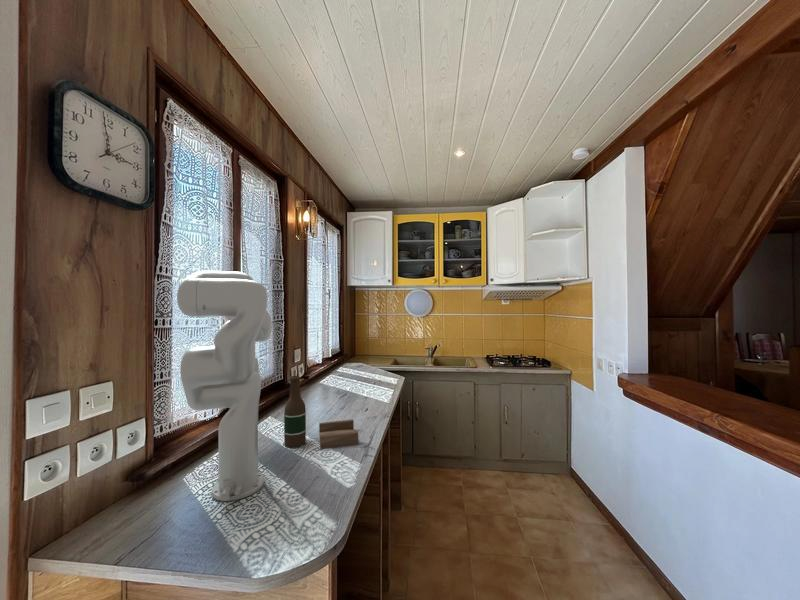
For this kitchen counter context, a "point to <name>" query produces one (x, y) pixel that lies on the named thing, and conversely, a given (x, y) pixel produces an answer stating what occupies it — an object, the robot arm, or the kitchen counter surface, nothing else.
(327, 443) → the block
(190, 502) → the kitchen counter surface
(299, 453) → the kitchen counter surface
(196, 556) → the kitchen counter surface
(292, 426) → the beer bottle
